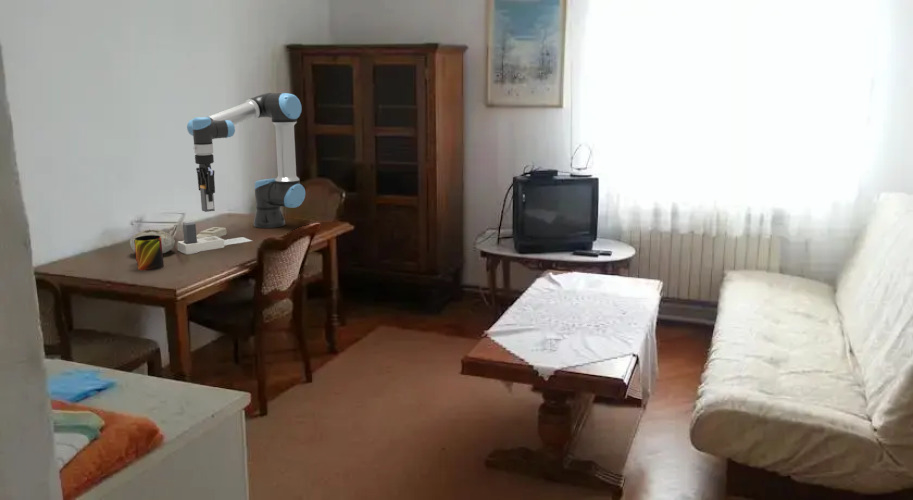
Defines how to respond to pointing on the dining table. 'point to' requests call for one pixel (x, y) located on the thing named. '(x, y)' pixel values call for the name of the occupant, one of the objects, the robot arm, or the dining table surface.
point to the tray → (236, 240)
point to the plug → (204, 199)
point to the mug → (149, 252)
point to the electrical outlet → (212, 232)
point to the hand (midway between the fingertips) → (208, 208)
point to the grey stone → (165, 237)
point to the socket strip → (197, 240)
